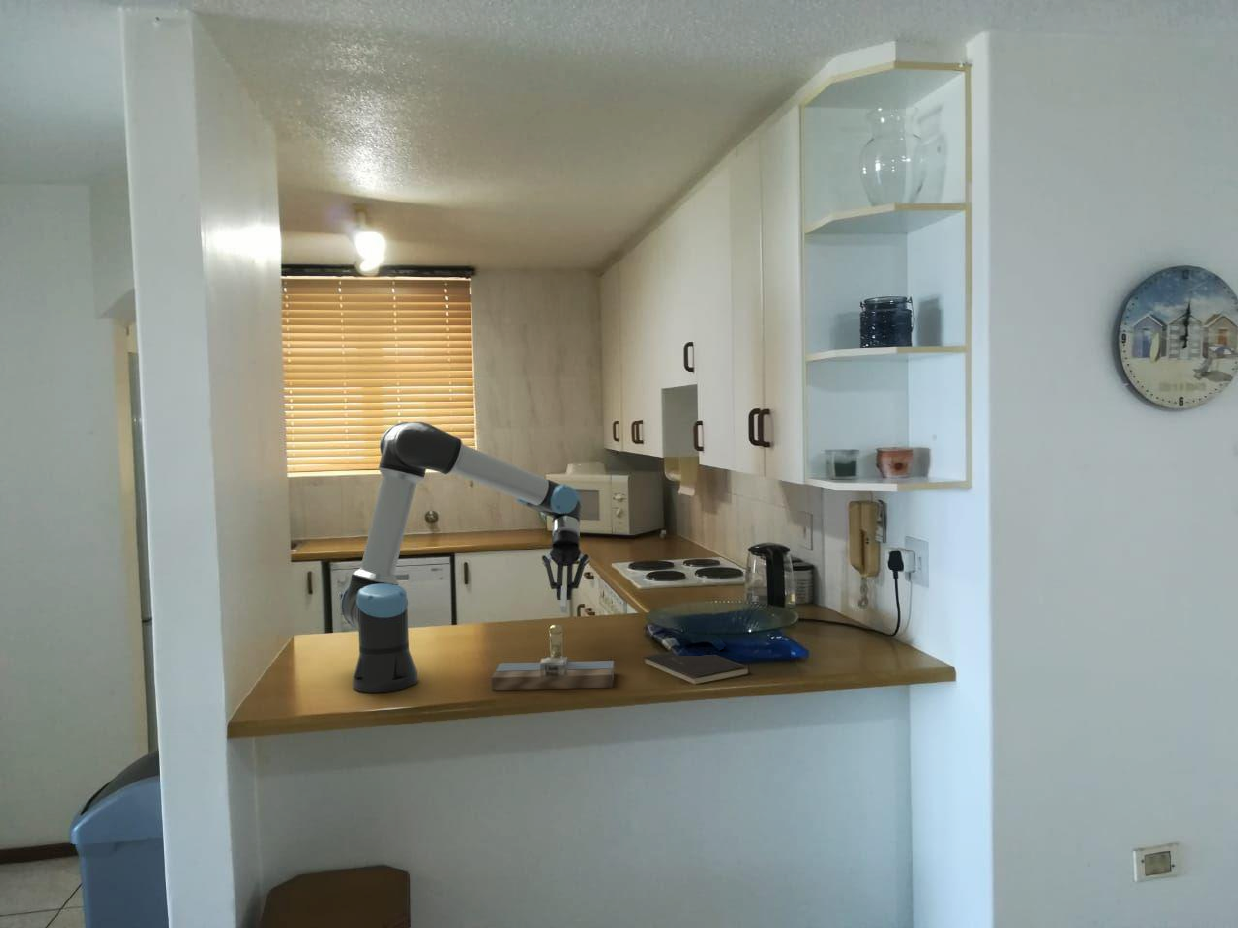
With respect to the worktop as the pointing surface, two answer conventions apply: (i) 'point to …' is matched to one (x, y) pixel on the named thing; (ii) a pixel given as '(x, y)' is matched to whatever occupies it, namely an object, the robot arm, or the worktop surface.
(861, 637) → the worktop surface
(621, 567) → the worktop surface
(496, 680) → the block
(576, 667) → the latch base plate
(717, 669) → the hardcover book
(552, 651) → the bolt
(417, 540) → the worktop surface
